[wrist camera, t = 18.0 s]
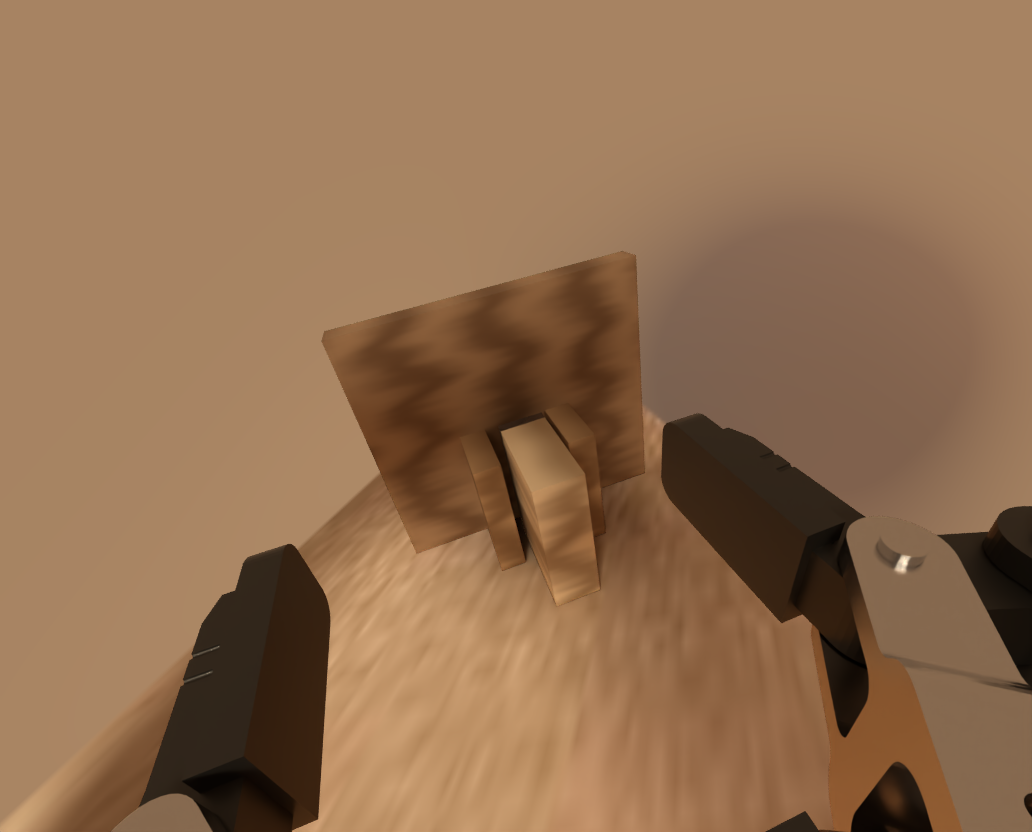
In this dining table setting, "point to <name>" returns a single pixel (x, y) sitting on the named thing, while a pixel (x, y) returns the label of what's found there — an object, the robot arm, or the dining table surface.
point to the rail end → (552, 506)
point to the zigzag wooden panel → (497, 394)
